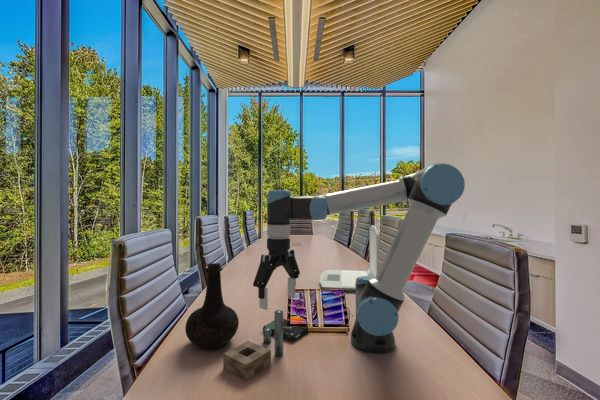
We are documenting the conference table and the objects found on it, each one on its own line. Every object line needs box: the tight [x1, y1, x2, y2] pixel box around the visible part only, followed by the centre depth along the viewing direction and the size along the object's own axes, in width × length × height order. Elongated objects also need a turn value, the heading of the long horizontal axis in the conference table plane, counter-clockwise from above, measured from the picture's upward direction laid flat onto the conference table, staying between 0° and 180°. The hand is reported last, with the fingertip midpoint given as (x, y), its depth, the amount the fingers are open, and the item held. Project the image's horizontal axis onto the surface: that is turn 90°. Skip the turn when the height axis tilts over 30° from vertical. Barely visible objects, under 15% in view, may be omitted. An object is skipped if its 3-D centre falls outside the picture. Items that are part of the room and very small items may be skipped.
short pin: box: [262, 328, 272, 345], centre depth 105 cm, size 3×3×4 cm
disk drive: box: [262, 318, 309, 343], centre depth 113 cm, size 10×3×15 cm
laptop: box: [319, 224, 380, 292], centre depth 181 cm, size 42×33×35 cm
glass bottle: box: [184, 262, 240, 350], centre depth 104 cm, size 18×18×28 cm
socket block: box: [222, 340, 272, 382], centre depth 89 cm, size 10×10×4 cm
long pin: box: [274, 309, 284, 358], centre depth 96 cm, size 3×3×14 cm
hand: (278, 302), depth 96 cm, fingers open, 13 cm apart
